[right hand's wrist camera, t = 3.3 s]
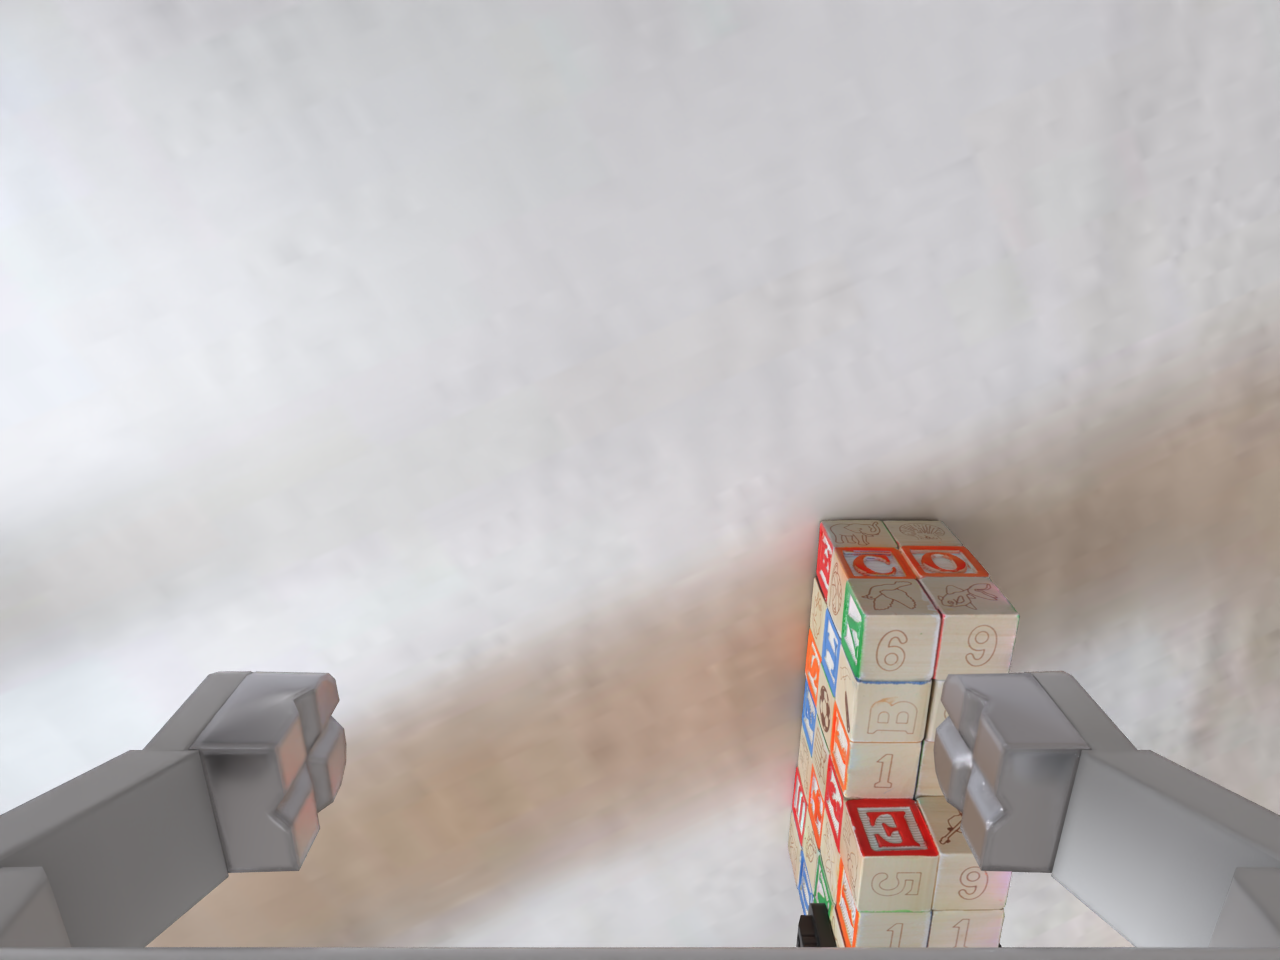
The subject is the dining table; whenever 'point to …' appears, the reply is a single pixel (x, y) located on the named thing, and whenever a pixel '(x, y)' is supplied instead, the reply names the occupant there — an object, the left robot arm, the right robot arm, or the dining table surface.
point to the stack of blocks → (892, 736)
